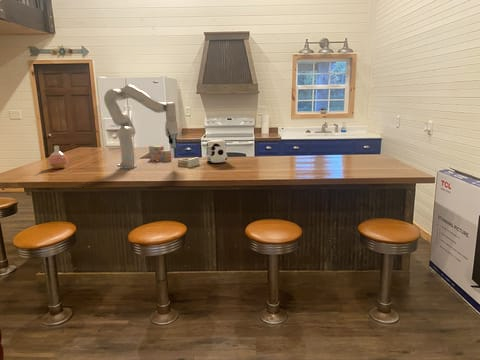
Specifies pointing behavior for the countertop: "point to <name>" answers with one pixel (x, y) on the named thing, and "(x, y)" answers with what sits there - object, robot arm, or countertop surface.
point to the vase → (57, 159)
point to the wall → (193, 162)
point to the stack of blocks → (159, 153)
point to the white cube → (216, 151)
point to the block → (183, 162)
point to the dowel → (173, 141)
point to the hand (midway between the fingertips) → (172, 143)
